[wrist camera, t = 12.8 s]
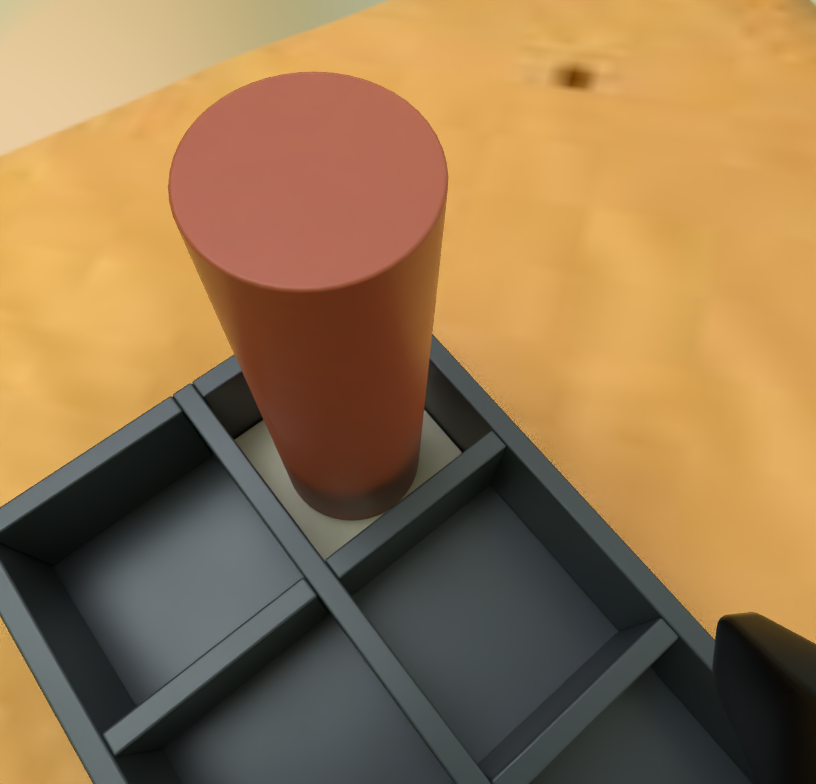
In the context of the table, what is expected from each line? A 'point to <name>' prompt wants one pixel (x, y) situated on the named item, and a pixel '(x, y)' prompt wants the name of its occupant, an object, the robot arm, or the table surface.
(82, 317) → the table surface
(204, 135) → the reddish brown cylinder
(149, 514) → the grid
